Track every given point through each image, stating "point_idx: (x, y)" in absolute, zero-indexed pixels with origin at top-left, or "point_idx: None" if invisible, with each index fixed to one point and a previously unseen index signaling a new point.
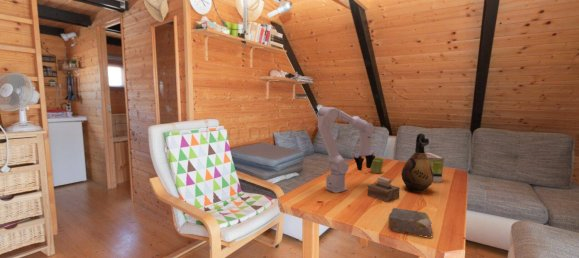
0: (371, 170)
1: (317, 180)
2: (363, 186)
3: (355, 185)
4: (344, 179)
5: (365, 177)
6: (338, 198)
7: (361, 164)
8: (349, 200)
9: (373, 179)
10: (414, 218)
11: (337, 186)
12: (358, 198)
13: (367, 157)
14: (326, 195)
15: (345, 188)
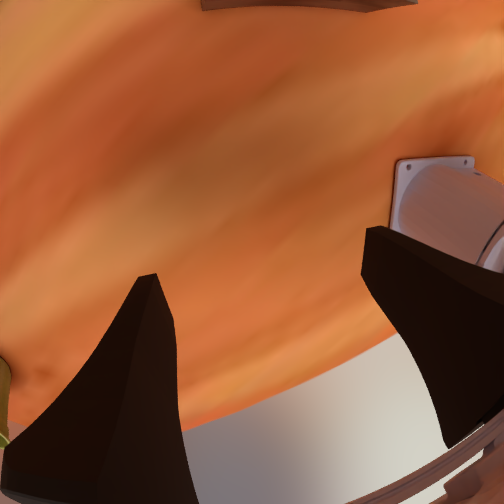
0: (9, 379)
1: (380, 340)
2: (237, 164)
3: (279, 211)
4: (474, 196)
5: (78, 326)
6: (495, 103)
7: (459, 264)
8: (482, 51)
9: (42, 278)
10: None
11: (481, 178)
12: (442, 28)
13: (179, 483)
14: (498, 162)
15: (407, 176)
